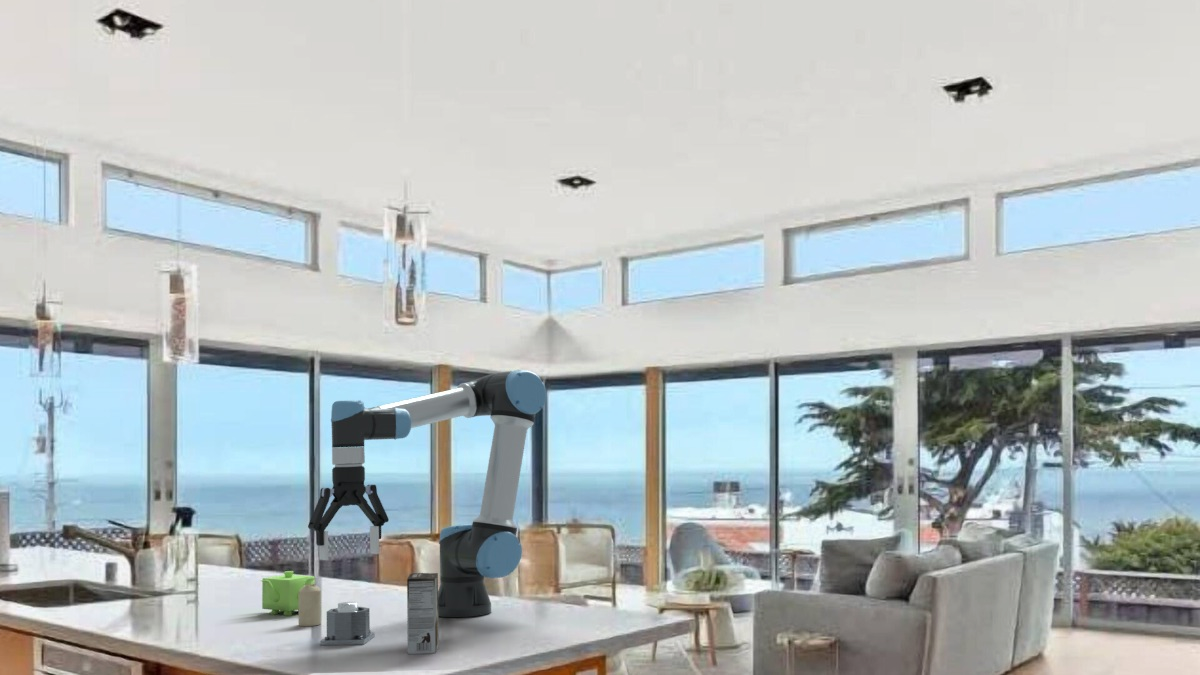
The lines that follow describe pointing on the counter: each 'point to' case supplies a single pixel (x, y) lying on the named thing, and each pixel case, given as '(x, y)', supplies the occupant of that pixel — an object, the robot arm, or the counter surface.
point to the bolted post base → (326, 641)
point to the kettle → (283, 592)
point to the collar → (348, 624)
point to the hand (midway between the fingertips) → (349, 556)
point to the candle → (309, 605)
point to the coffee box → (422, 613)
